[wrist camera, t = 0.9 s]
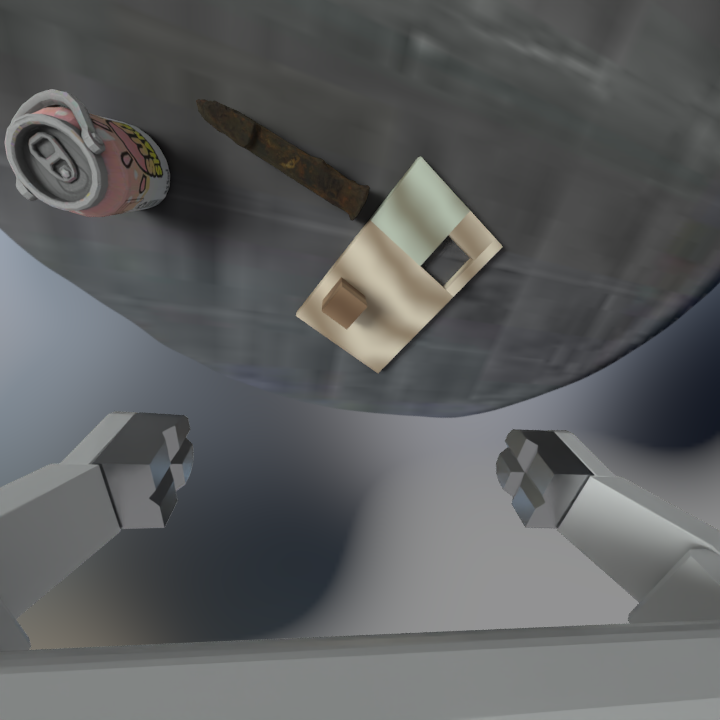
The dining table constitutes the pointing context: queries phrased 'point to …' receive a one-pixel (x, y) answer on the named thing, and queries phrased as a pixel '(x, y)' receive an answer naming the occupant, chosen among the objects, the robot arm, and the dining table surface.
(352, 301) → the walnut cube
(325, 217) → the dining table surface
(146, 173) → the beverage can
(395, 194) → the birch board
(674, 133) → the dining table surface
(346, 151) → the dining table surface
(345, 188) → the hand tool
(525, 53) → the dining table surface
